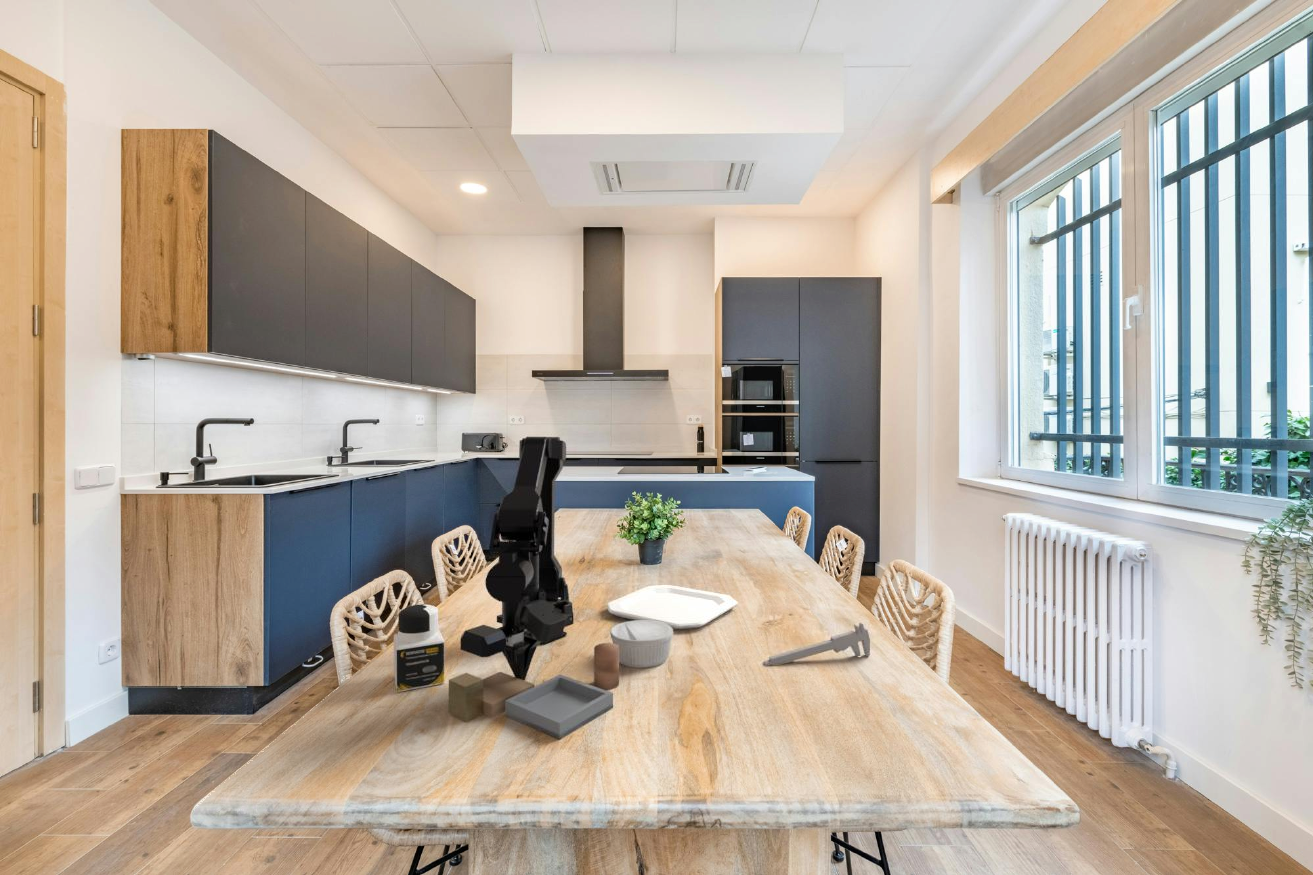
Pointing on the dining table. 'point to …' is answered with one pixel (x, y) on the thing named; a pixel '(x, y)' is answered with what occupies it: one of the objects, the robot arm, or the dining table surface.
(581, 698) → the tray
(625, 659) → the ramekin
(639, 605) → the plate
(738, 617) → the dining table surface
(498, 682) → the board
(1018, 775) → the dining table surface
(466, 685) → the rectangular block
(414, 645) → the medicine bottle
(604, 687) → the dowel
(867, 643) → the caliper
